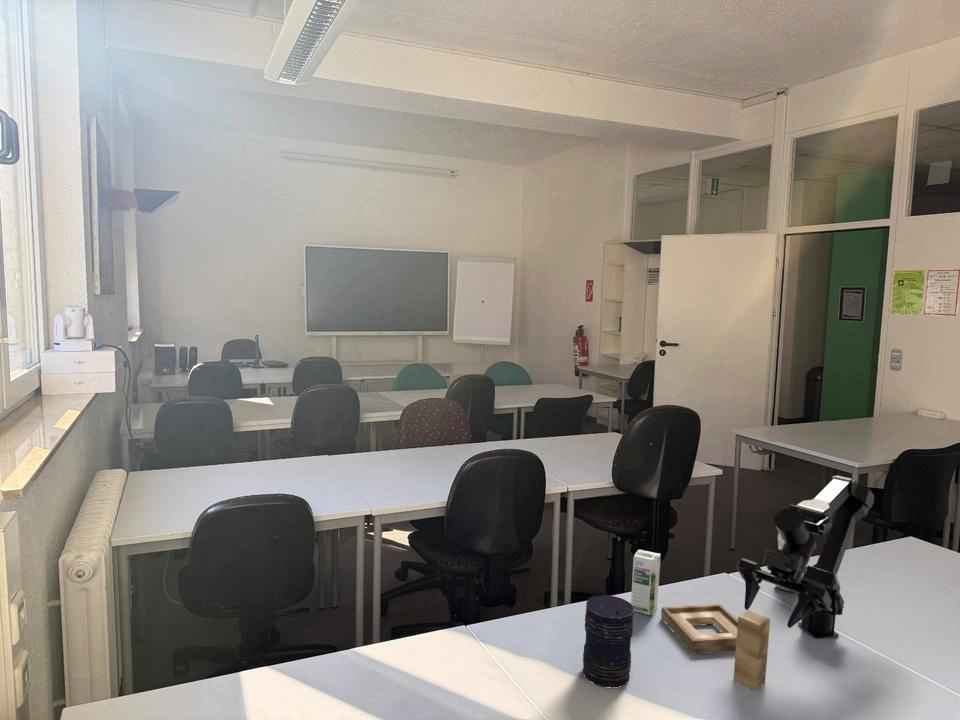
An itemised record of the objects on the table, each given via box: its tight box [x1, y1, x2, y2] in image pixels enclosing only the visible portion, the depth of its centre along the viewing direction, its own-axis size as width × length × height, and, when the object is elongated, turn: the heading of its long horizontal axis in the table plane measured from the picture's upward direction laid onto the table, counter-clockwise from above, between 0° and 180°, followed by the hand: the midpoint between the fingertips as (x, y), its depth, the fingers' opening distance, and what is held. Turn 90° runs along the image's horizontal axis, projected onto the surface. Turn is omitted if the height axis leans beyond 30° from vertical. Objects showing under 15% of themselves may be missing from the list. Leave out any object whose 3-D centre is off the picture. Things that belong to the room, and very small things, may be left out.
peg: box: [733, 609, 771, 691], centre depth 133 cm, size 4×4×14 cm
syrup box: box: [630, 549, 661, 616], centre depth 162 cm, size 6×6×14 cm
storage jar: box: [582, 594, 635, 689], centre depth 133 cm, size 10×10×15 cm
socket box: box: [660, 603, 738, 654], centre depth 152 cm, size 16×16×3 cm
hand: (766, 617), depth 136 cm, fingers open, 9 cm apart
